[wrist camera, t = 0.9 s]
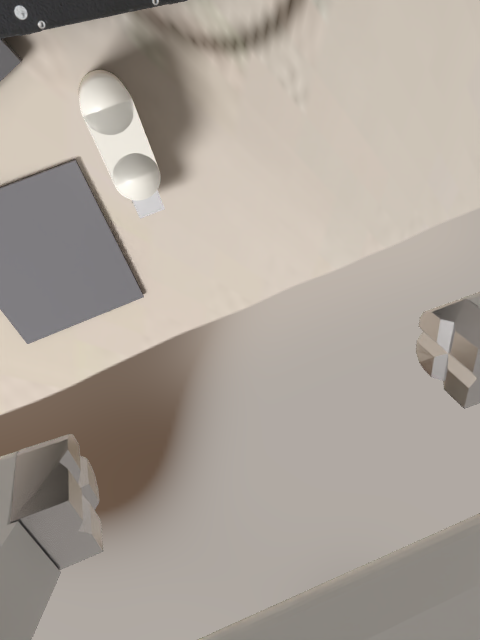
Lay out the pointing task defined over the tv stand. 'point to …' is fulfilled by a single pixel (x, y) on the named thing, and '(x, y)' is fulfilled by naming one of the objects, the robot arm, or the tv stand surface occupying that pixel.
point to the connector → (121, 140)
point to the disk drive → (62, 13)
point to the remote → (7, 59)
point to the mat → (58, 255)
